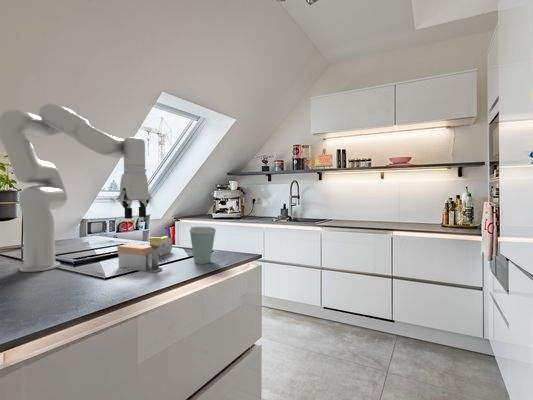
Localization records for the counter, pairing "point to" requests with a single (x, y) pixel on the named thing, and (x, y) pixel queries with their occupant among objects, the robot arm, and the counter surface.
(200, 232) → the disposable coffee cup
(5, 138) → the robot arm
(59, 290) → the counter surface
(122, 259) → the housing
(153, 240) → the key
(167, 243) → the tin
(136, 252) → the cover
